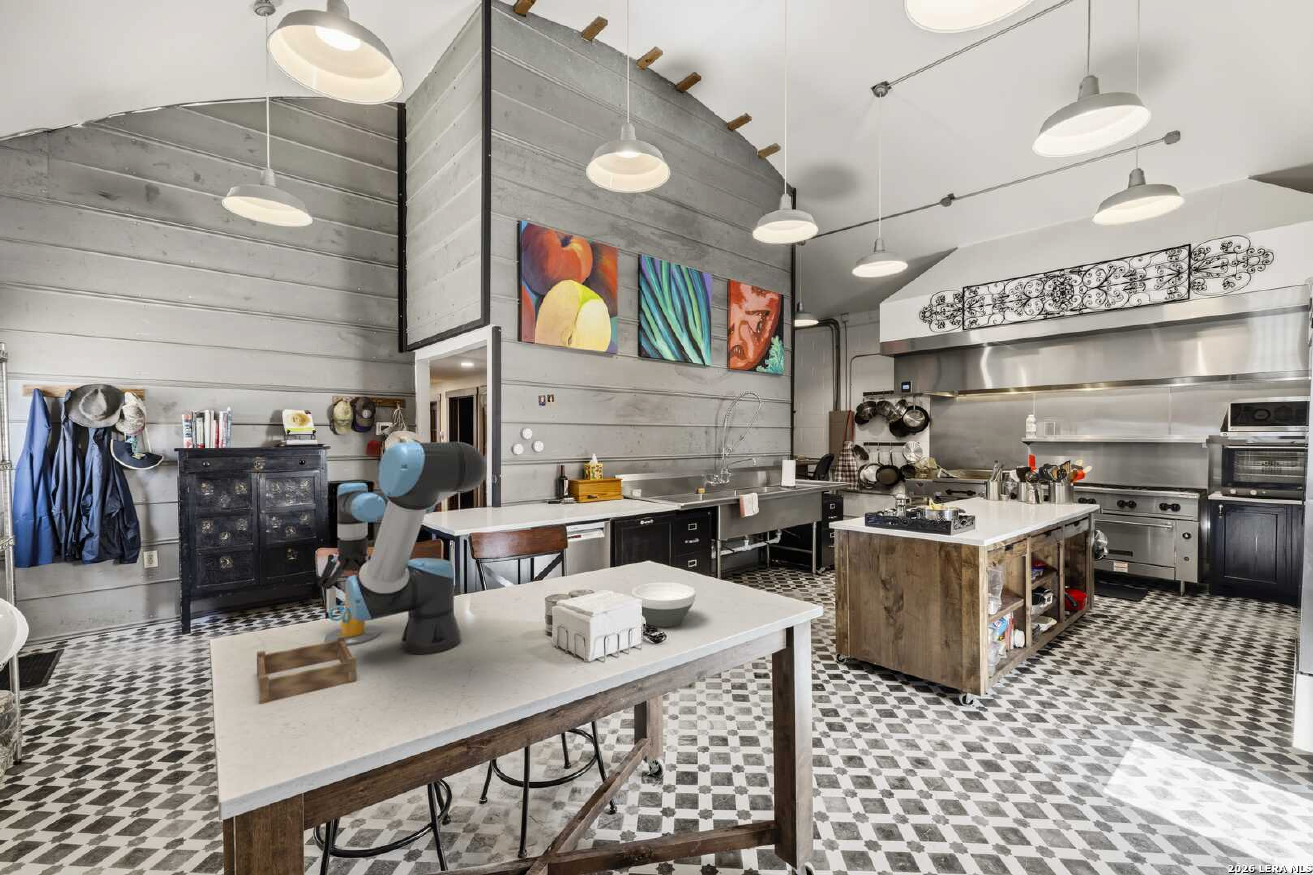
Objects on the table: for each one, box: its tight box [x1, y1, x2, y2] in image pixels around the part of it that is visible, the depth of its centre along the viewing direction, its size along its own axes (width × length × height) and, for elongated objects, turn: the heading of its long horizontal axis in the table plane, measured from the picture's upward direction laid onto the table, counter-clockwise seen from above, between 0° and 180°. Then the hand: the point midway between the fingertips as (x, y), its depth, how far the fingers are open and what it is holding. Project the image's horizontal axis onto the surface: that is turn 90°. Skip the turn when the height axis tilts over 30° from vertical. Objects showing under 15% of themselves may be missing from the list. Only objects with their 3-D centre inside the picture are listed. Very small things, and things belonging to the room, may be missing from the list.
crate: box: [256, 635, 357, 705], centre depth 132 cm, size 18×18×5 cm
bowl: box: [631, 582, 697, 628], centre depth 172 cm, size 20×20×10 cm
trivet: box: [324, 625, 381, 647], centre depth 159 cm, size 14×14×1 cm
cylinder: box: [327, 581, 366, 637], centre depth 159 cm, size 12×10×15 cm
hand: (353, 612), depth 159 cm, fingers open, 13 cm apart
